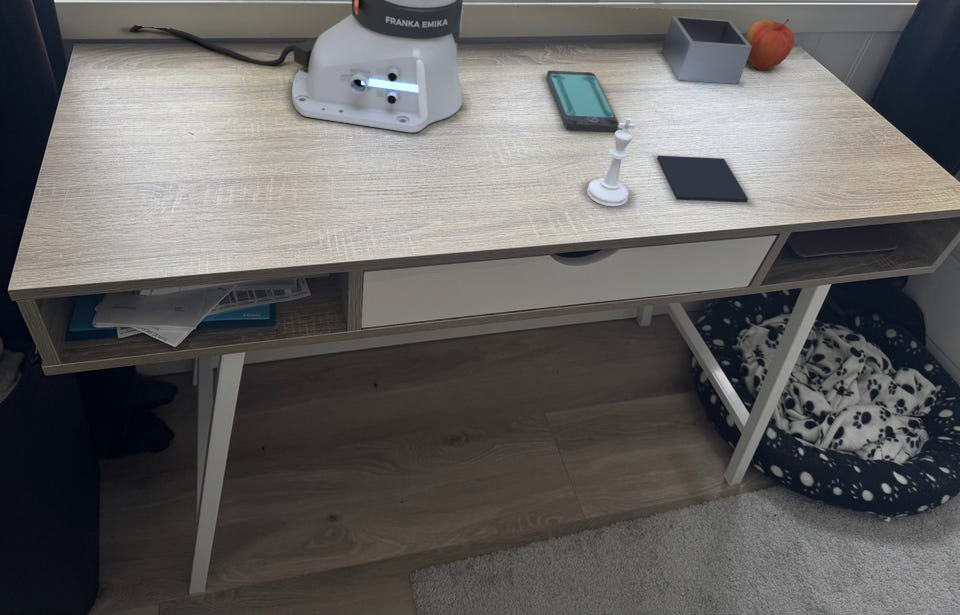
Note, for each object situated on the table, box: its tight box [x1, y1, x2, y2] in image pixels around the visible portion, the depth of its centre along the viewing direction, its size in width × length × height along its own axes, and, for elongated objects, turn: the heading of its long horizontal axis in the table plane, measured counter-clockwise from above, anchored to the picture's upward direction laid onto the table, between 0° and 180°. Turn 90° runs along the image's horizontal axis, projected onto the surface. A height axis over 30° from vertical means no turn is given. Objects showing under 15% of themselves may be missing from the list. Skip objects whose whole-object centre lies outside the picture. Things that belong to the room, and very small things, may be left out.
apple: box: [744, 18, 795, 71], centre depth 116 cm, size 7×7×8 cm
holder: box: [661, 15, 752, 85], centre depth 114 cm, size 10×10×6 cm
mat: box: [656, 155, 749, 203], centre depth 92 cm, size 9×9×1 cm
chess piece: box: [586, 117, 635, 207], centre depth 84 cm, size 5×5×10 cm
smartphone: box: [545, 70, 620, 133], centre depth 103 cm, size 7×1×15 cm
